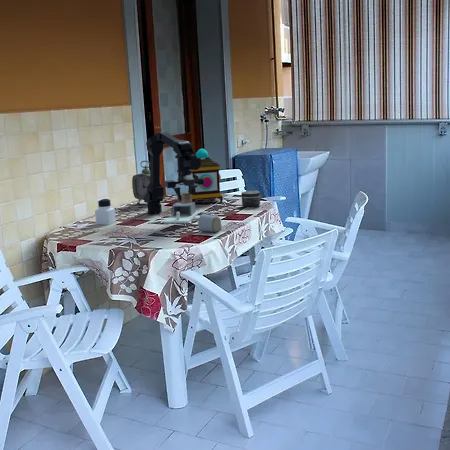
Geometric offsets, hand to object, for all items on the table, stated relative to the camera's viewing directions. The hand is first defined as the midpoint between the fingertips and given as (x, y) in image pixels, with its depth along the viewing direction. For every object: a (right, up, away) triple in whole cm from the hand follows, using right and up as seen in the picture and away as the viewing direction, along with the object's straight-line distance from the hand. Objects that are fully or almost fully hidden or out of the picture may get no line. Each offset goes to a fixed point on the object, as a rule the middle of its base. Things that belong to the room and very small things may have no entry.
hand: (185, 200), depth 291 cm
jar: (+33, -2, +33) cm, 47 cm away
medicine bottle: (-39, -11, +7) cm, 42 cm away
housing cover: (-2, -6, +15) cm, 16 cm away
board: (-3, -9, +9) cm, 13 cm away
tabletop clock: (-24, 0, +53) cm, 58 cm away
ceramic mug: (+13, -15, -20) cm, 28 cm away
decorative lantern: (+8, +1, +54) cm, 55 cm away
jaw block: (0, -1, 0) cm, 1 cm away
